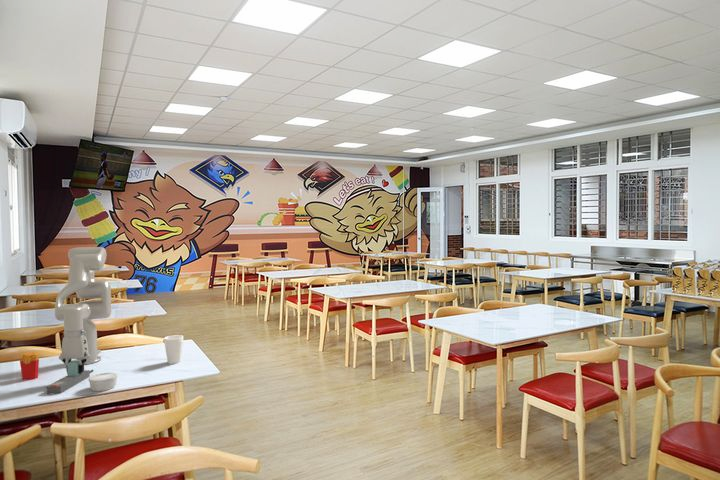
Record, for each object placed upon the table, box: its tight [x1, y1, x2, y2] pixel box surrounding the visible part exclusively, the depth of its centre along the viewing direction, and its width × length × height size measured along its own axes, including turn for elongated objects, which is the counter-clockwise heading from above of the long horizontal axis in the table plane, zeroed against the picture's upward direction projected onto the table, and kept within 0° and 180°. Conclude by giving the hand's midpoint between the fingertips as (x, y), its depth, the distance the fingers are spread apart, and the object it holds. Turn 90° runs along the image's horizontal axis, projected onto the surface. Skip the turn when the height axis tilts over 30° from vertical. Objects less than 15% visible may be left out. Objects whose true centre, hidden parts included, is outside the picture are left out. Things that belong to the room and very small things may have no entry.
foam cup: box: [163, 334, 184, 365], centre depth 245 cm, size 10×9×13 cm
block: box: [66, 359, 82, 376], centre depth 218 cm, size 4×4×8 cm
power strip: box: [45, 369, 95, 395], centre depth 217 cm, size 30×6×4 cm, turn 1°
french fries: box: [19, 351, 40, 381], centre depth 222 cm, size 8×4×12 cm, turn 86°
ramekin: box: [88, 372, 118, 392], centre depth 208 cm, size 11×11×5 cm
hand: (75, 372), depth 218 cm, fingers closed on block, 4 cm apart
